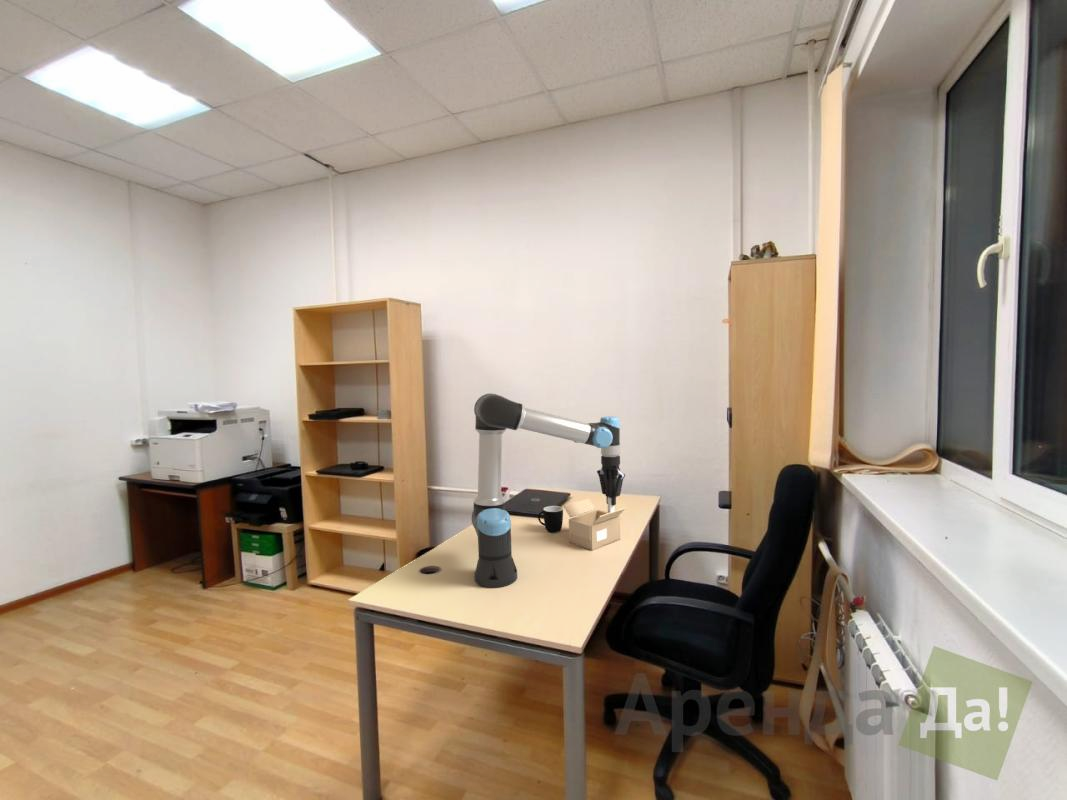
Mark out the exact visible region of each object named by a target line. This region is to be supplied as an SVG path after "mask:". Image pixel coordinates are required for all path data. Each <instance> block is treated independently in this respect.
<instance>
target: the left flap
mask: <svg viewBox="0 0 1067 800" xmlns="http://www.w3.org/2000/svg"><path fill="white" fill-rule="evenodd" d="M563 507H564V508H563V509H565V511H566V513H567V515H568V516H569V518H574V517H577V516H580V515H583V514H587V513H590V512H593V511H596V510H597V509H596V506H595V505H594V504H593V502H592V501H591V498H586V499H584V500H583V499H582V500H579V501H576V502H572V503H570V504H566V505H563Z"/></svg>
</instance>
